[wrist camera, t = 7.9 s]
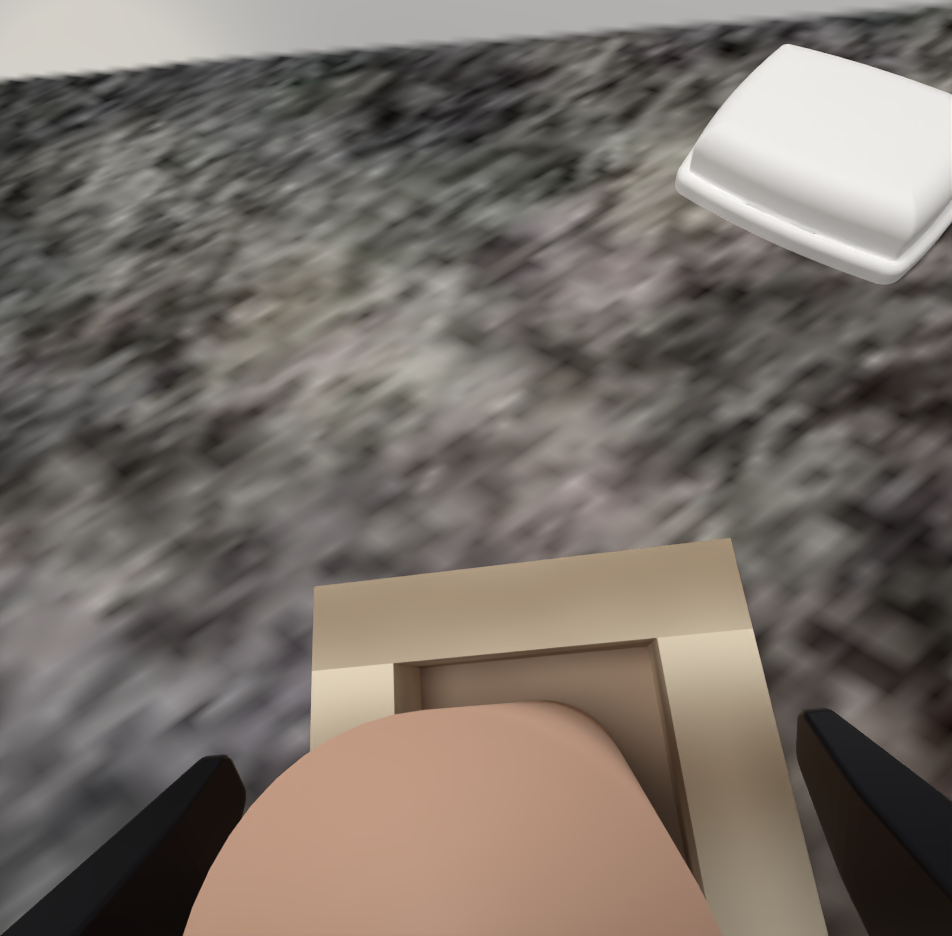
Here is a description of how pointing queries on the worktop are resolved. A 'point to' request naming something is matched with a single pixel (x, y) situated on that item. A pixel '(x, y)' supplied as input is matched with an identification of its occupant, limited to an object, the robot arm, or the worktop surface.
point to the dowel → (455, 836)
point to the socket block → (600, 694)
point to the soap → (829, 162)
